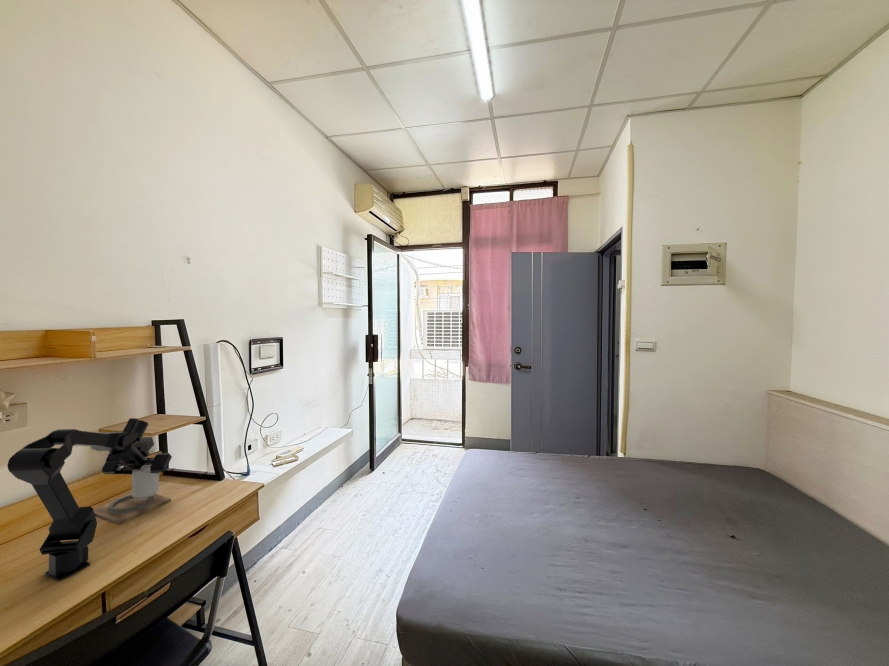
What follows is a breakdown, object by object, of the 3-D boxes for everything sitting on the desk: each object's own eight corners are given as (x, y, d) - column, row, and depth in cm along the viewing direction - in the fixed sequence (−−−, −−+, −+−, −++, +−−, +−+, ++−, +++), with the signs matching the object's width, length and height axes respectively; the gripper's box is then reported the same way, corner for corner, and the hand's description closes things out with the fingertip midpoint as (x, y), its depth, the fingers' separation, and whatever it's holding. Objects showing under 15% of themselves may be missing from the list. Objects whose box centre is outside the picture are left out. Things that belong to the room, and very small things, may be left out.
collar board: (120, 524, 114) (120, 516, 114) (89, 514, 118) (89, 507, 118) (170, 501, 129) (171, 494, 129) (141, 493, 134) (142, 486, 133)
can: (150, 499, 121) (151, 466, 121) (126, 500, 120) (127, 467, 120) (163, 489, 129) (164, 458, 128) (140, 490, 127) (141, 458, 127)
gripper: (169, 431, 122) (185, 450, 133) (108, 433, 118) (130, 452, 129) (154, 462, 114) (173, 479, 125) (89, 464, 111) (114, 482, 122)
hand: (148, 472), depth 125 cm, fingers closed on can, 7 cm apart
